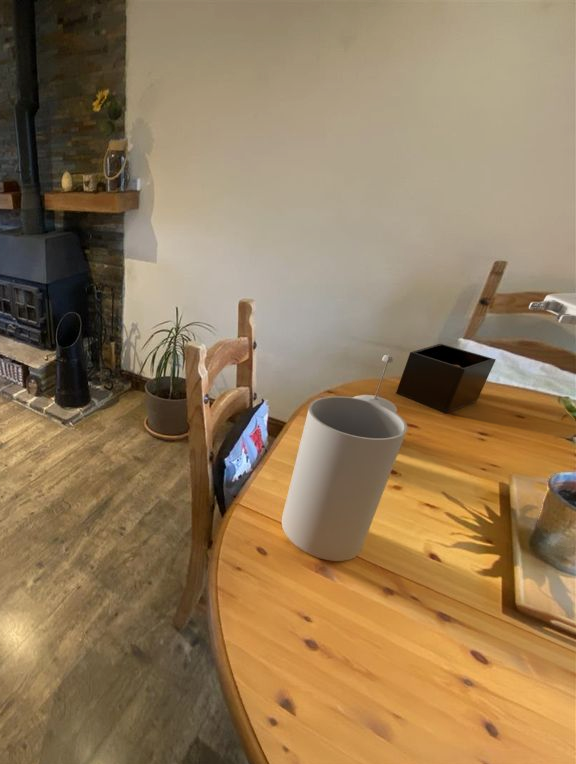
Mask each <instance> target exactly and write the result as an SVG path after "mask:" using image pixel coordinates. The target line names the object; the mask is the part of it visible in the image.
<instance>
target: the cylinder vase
mask: <svg viewBox="0 0 576 764" xmlns="http://www.w3.org/2000/svg"><path fill="white" fill-rule="evenodd" d="M407 431H408V425H407V422H406V421H405V419H404V418H403V417H402V416H400V414H398V412H396V413H395V412H393V411H392V410H390V409H388V408H386V407H384V406H381V405H379V404H376V403H373V402H370V401H366V400H362V399H358V398H353V397H352V396H351V397H350V396H340V395H339V396H337V395H335V396H333V395H332V396H324V397H319V398H317V399H314V400H313V401H311V403H310V404H309V406H308V409H307V414H306V418H305V421H304V425H303V430H302V434H301V439H300V442H299V446H298V450H297V454H296V459H295V461H294V467H293V472H292V475H291V479H290V483H289V487H288V491H287V495H286V500H285V504H284V509H283V511H282V515H281V527H282V530H283V532H284V534H285V536H286V537H287V539H288V540H289V541H290V542H291V543H292V544H293V545H295V547H297V548H298V549H299V550H301V551H303V552H305V554H308V555H311V556H312V557H315V558H318V559H322V560H325V561H329V562H330V561H331V562H345V561H349V560H351V559H354V558H356V557H357V556H358V555H359V554H360V553H361V551H362V549H363V546H364V544H365V541H366V539H367V537H368V533H369V530H370V528H371V525H372V523H373V520H374V518H375V515H376V512H377V510H378V507H379V505H380V503H381V499H382V497H383V494H384V491H385V489H386V486H387V483H388V481H389V478H390V475H391V473H392V471H393V468H394V466H395V462H396V460H397V457H398V455H399V452H400V449H401V447H402V444H403V441H404V439H405V436H406V433H407Z"/></svg>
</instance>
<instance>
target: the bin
mask: <svg viewBox="0 0 576 764" xmlns="http://www.w3.org/2000/svg"><path fill="white" fill-rule="evenodd" d="M496 361H497V359H496V358H493V357H489V356H485V355H481V354H478V353H475V352H472V351H469V350H464V349H461V348H457V347H454V346H450V345H447V344H443V343H437V344H434V345H431V346H427V347H423V348H419V349H417V350H413V351H411V352H409V355H408V357H407V360H406V363H405V366H404V369H403V372H402V374H401V378H400V380H399V382H398V386H397V389H396V392H395V394H396V395H398V396H401V397H404V398H406V399H408V400H411V401H414V402H416V403H418V404H420V405H423V406H425V407H428V408H431V409H433V410H435V411H439V412H440V413H442V414H445V415H447V414H450V413H452V412H455V411H458V410H460V409H463V408H466V407H468V406H471V405H474V404H477V403H478V400H479V398H480V395H481V393H482V392H483V389H484V386H485V385H486V383H487V380H488V379H489V378H488V377H489V375H490V373H491V372H492V369H493V367H494V365H495V363H496ZM456 365H459V366H460V367H459V366H456Z"/></svg>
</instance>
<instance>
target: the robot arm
mask: <svg viewBox="0 0 576 764" xmlns="http://www.w3.org/2000/svg"><path fill="white" fill-rule="evenodd" d="M528 309H529V310H531V311H534V312H535V311H536V312H537V311H538V312H541V311H547V312H548V313H551V314H554V315H556V316H557V317H556V318H555V321H556V322H558V323H560V324H568V325H575V326H576V292H565V293H564V292H560V293H558V292H557V293H549V294H547V295H546V296H545V297H544V298H543V301H531V302H530V304H529V305H528Z"/></svg>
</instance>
